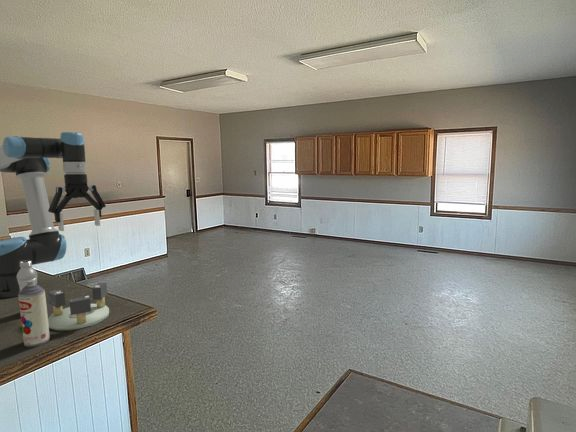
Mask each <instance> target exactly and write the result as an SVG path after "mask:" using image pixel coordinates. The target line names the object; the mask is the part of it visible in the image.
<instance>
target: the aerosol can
mask: <svg viewBox="0 0 576 432" xmlns="http://www.w3.org/2000/svg"><path fill="white" fill-rule="evenodd" d="M17 297H18V304H19V305H18V306H19V312H20V322H21V323H20V324H21V330H22V331H21V333H22V340H23V346H24V347H26V348H34V347H40V346H43V345H44V344H47V343H48V342H49V341H50V340H51V335H50V328H49V324H48V317H49V316H48V307H47V298H46V291H45V288H44V287H42V286H41V285H38V283H37V284H35V283H34V280H30V281H27V285H26V286H25V287H24V288H23V289H22V290H21V291H20V292H19V295H18V296H17Z"/></svg>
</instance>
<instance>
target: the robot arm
mask: <svg viewBox="0 0 576 432" xmlns="http://www.w3.org/2000/svg"><path fill="white" fill-rule="evenodd" d="M85 148H86V147H85V140H84V135H83V134H82V132H76V131H75V132H73V131H62V132H61V133H60V138H54V137H53V138H52V137H51V138H50V137H27V136H5V137H4V139H3V142H2V145H0V172H1V173H14V174H15V175H16V178H18V179H19V180H20V181H21V184H22V189H23V194H24V199H25V203H26V209H27V214H28V219H29V222H30V223H29V224H30V228H31V232H30V233H29V235H28V237H29V238H28V239H27V238H26V236H16V237H15V236H13V237H10V238H6V239H2V240H0V299H5V298H15V297H18V295H19V292H20V288H19V284H18V281H17V274H18V272H19V270H20V269H21V267H20V262H21V261H24V260H31V261H32V266H34V265H35V266H36V265H40V264H44V263H51V262H55V261H59V260H61V259H63V258H64V257H65V255H66V252H67V239H66V237H65V235H63V234H61V233H60V231H61V232H65V225H64V216H63V215H64V214H63V213H62V211H63V210H64V209H65V207H66V206H67V205H68V203H70V200H71V199H77V198H79V199H81V198H84V199H86V200H87V202H89V203H90V205H92V207H94V208H95V209H93V216H94V217H93V219H94V226H97V227H100V226H101V218H102V210H103V208H106V203H105V202H104V200H103V198H102V197H101V195H100V194H99V192H98V189H97V186H96V185H92V184H91V185H88V175H87V174H86V173H87V163H86V162H87V161H86V149H85ZM50 159H62V166H63V167H62V168H63V173H65V174H64V175H63V177H64V178H63V179H64V187H62V186H56V187H55V194H54V196H53V198H52V201H51V202H49V197H48V192H47V188H46V183H45V177H47V175H48V174H47V172H49V171H50V168H51V165H50V164H51V162H50ZM88 191H89V192H91V194H92V196H93V197H94V199H93V197H92V196H91V195H90V194H89V192H88ZM64 192H65V195H64V197H63V199H62V200H61V197H62V195H63V193H64ZM60 200H61V201H60ZM52 214H54V221H55V223H57V225H58V226H57V228H58V229H56V228H55V226H54V221H53V217H52V216H53V215H52Z"/></svg>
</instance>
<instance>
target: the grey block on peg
mask: <svg viewBox="0 0 576 432" xmlns="http://www.w3.org/2000/svg"><path fill="white" fill-rule="evenodd" d="M91 290H92V292H91V293H92V300H93V301H96V304H97V308H102V307H105V305H106V300H105V299H106V298H105V297H106V296H107V295H108V285H107V282H98V283H96V284H95V285H94V286H93V287H92V288H91Z"/></svg>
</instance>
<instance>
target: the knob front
mask: <svg viewBox="0 0 576 432" xmlns="http://www.w3.org/2000/svg"><path fill="white" fill-rule="evenodd" d="M90 304H91V297H90V295H86V296H85V295H84V296H83V297H75V298H70V299H69V307H70V312H71V315H74V314H76V316H77V324H84V323H86V312H90V311H91V305H90Z"/></svg>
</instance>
